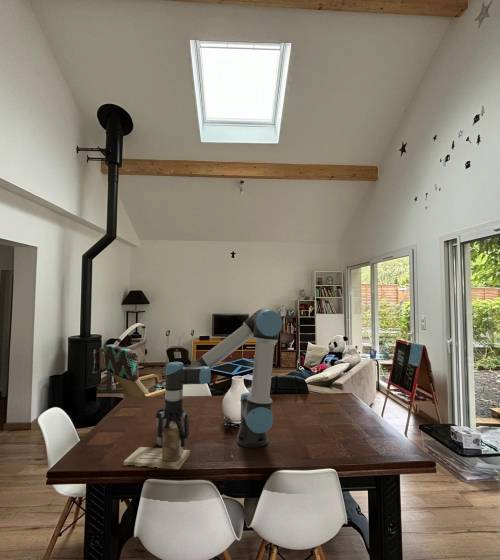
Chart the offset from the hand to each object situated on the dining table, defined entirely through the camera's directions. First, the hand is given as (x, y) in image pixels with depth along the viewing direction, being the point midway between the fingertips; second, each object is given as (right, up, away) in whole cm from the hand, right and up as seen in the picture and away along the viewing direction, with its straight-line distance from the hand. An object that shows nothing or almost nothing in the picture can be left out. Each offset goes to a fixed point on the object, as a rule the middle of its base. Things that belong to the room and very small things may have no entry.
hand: (172, 453), depth 139 cm
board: (-7, -3, +1) cm, 7 cm away
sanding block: (0, -1, 0) cm, 1 cm away
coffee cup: (-8, -4, +17) cm, 19 cm away
